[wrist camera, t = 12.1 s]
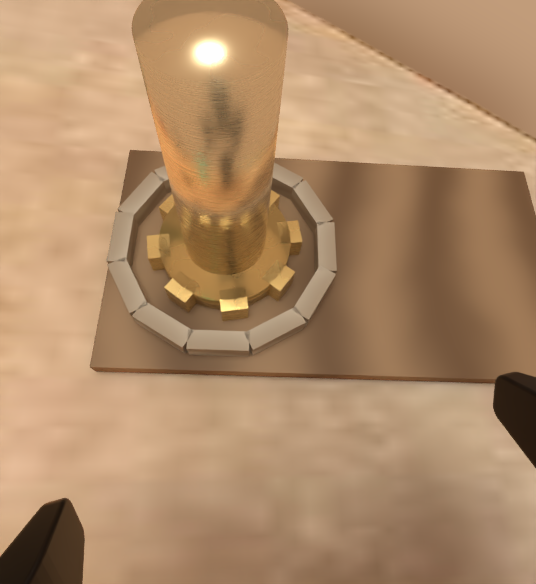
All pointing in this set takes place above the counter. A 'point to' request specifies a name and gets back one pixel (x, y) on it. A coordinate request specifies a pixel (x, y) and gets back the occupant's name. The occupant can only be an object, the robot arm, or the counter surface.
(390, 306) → the carrier plate
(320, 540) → the counter surface
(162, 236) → the gold piece
